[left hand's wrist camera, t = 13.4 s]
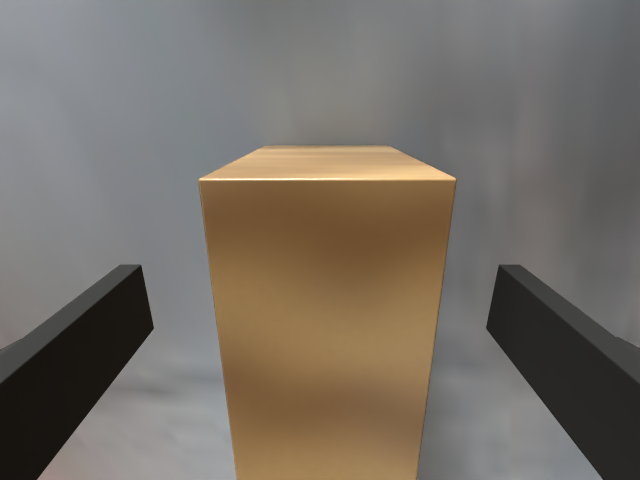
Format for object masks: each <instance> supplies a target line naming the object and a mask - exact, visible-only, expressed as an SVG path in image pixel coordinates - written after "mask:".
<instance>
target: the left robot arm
mask: <svg viewBox="0 0 640 480" xmlns="http://www.w3.org/2000/svg"><path fill="white" fill-rule="evenodd" d="M153 329H154V327H153V322H152V317H151V312H150V307H149V302H148V297H147V292H146V287H145V282H144V277H143V272H142V267H141V265H119V266H118V267H117V268H115V269H114V270H113V271H111V272H110V273H109V274H107V275H106V276H105V277H103V278H102V279H101V280H99V281H98V282H97V283H95V284H94V285H93V286H91V287H90V288H89V289H87V290H86V291H85V292H83V293H82V294H81V295H79V296H78V297H77V298H76V299H74V300H73V301H72V302H70V303H69V304H68V305H66V306H65V307H64V308H62V309H61V310H60V311H58V312H57V313H56V314H54V315H53V316H52V317H50V318H49V319H48V320H46V321H45V322H44V323H42V324H41V325H40V326H38V327H37V328H36V329H34V330H33V331H32V332H31V333H29V334H28V335H27V336H25V337H24V338H23V339H20V340H18V341H16V342H14V343H13V344H11V345H9V346H7V347H5V348H3V349H1V350H0V480H37V479H38V477H39V476H40V475H41V474H42V472H43V471H44V470H45V468H46V467H47V466H48V465H49V463H50V462H51V461H52V459H53V458H54V457H55V456H56V454H57V453H58V452H59V450H60V449H61V448H62V446H63V445H64V444H65V443H66V441H67V440H68V439H69V437H70V436H71V435H72V434H73V432H74V431H75V430H76V428H77V427H78V426H79V425H80V423H81V422H82V421H83V419H84V418H85V417H86V415H87V414H88V413H89V412H90V410H91V409H92V408H93V406H94V405H95V404H96V403H97V401H98V400H99V399H100V397H101V396H102V395H103V394H104V392H105V391H106V390H107V388H108V387H109V386H110V384H111V383H112V382H113V381H114V379H115V378H116V377H117V375H118V374H119V373H120V372H121V370H122V369H123V368H124V366H125V365H126V364H127V363H128V361H129V360H130V359H131V357H132V356H133V355H134V353H135V352H136V351H137V350H138V348H139V347H140V346H141V344H142V343H143V342H144V341H145V339H146V338H147V337H148V335H149V334H150V333H151V332H152V330H153ZM486 329H487V330H488V332H489V333H490V334H491V335H492V337H493V338H494V339H495V341H496V342H497V343H498V344H499V346H500V347H501V348H502V350H503V351H504V352H505V353H506V355H507V356H508V357H509V359H510V360H511V361H512V363H513V364H514V365H515V366H516V368H517V369H518V370H519V372H520V373H521V374H522V375H523V377H524V378H525V379H526V381H527V382H528V383H529V384H530V386H531V387H532V388H533V390H534V391H535V392H536V394H537V395H538V396H539V397H540V399H541V400H542V401H543V403H544V404H545V405H546V406H547V408H548V409H549V410H550V412H551V413H552V414H553V415H554V417H555V418H556V419H557V421H558V422H559V423H560V425H561V426H562V427H563V428H564V430H565V431H566V432H567V434H568V435H569V436H570V437H571V439H572V440H573V441H574V443H575V444H576V445H577V446H578V448H579V449H580V450H581V452H582V453H583V454H584V456H585V457H586V458H587V459H588V461H589V462H590V463H591V465H592V466H593V467H594V468H595V470H596V471H597V472H598V474H599V475H600V476H601V477H602V479H603V480H640V348H638V347H636V346H634V345H632V344H630V343H628V342H626V341H624V340H623V339H621V338H616V337H615V336H613V335H612V334H611V333H609V332H608V331H607V330H606V329H604V328H603V327H602V326H600V325H599V324H598V323H596V322H595V321H594V320H592V319H591V318H590V317H588V316H587V315H586V314H584V313H583V312H582V311H580V310H579V309H578V308H576V307H575V306H574V305H572V304H571V303H570V302H568V301H567V300H566V299H564V298H563V297H562V296H561V295H559V294H558V293H557V292H555V291H554V290H553V289H551V288H550V287H549V286H547V285H546V284H545V283H543V282H542V281H541V280H539V279H538V278H537V277H535V276H534V275H533V274H531V273H530V272H529V271H527V270H526V269H525V268H523V267H522V266H521V265H499V267H498V272H497V277H496V282H495V287H494V292H493V297H492V302H491V307H490V312H489V317H488V322H487V327H486Z"/></svg>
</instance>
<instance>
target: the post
mask: <svg viewBox="0 0 640 480" xmlns="http://www.w3.org/2000/svg"><path fill="white" fill-rule="evenodd" d="M198 182H199V190H200V198H201V206H202V213H203V221H204V229H205V237H206V244H207V252H208V260H209V268H210V275H211V283H212V291H213V299H214V306H215V314H216V322H217V330H218V337H219V345H220V353H221V361H222V368H223V376H224V384H225V392H226V399H227V407H228V415H229V423H230V430H231V438H232V446H233V454H234V461H235V469H236V477H237V480H416V478H417V471H418V464H419V456H420V449H421V441H422V434H423V426H424V419H425V411H426V404H427V396H428V389H429V381H430V374H431V367H432V359H433V352H434V344H435V337H436V329H437V322H438V314H439V307H440V299H441V292H442V285H443V277H444V270H445V262H446V255H447V247H448V240H449V232H450V225H451V217H452V210H453V202H454V195H455V188H456V178H454V177H452V176H450V175H448V174H446V173H444V172H442V171H440V170H438V169H435V168H433V167H431V166H429V165H427V164H425V163H423V162H421V161H419V160H417V159H415V158H413V157H411V156H409V155H407V154H405V153H402V152H400V151H398V150H396V149H394V148H392V147H390V146H388V145H308V146H263V147H261V148H259V149H257V150H255V151H253V152H251V153H249V154H248V155H246V156H244V157H242V158H240V159H238V160H236V161H234V162H232V163H230V164H228V165H226V166H224V167H222V168H220V169H218V170H216V171H214V172H212V173H210V174H208V175H206V176H204V177H202V178H200V179H199V180H198Z"/></svg>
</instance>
